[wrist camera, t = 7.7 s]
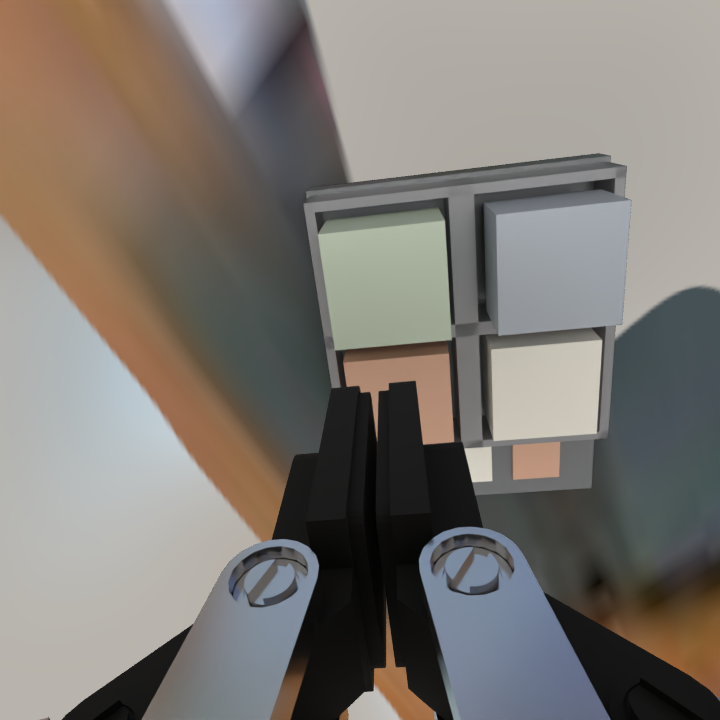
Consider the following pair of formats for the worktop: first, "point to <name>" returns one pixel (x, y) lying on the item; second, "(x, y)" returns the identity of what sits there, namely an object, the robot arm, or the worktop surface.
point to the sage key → (386, 278)
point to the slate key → (556, 261)
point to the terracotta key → (408, 364)
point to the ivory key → (541, 383)
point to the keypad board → (478, 304)
